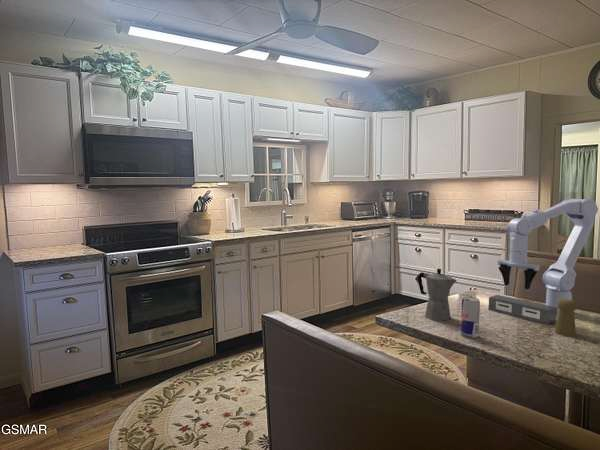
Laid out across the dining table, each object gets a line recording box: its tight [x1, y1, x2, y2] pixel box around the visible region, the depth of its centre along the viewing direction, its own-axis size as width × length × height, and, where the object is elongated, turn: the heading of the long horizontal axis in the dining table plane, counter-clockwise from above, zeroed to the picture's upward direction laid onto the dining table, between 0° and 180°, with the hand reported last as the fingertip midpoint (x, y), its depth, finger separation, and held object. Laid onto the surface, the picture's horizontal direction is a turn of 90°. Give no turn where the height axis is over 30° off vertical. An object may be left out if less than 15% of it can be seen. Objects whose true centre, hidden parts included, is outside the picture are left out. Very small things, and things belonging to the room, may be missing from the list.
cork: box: [553, 299, 577, 337], centre depth 136 cm, size 6×6×11 cm
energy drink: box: [460, 296, 481, 339], centre depth 133 cm, size 5×5×12 cm
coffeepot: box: [416, 268, 457, 322], centre depth 153 cm, size 15×9×18 cm, turn 44°
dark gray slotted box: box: [488, 294, 558, 325], centre depth 155 cm, size 6×22×5 cm, turn 36°
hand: (516, 286), depth 156 cm, fingers open, 7 cm apart
